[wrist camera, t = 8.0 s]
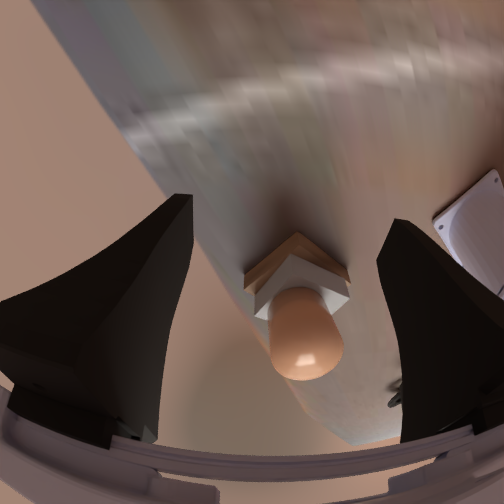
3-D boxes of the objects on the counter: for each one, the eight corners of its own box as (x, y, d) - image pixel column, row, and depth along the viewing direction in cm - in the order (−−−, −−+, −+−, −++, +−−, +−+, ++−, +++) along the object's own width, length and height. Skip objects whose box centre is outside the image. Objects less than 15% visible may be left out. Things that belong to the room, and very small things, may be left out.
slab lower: (346, 266, 26) (351, 284, 24) (295, 302, 29) (296, 319, 28) (296, 227, 24) (299, 244, 22) (244, 271, 27) (243, 289, 25)
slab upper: (344, 278, 24) (350, 298, 22) (306, 315, 27) (308, 334, 25) (290, 253, 22) (293, 273, 21) (254, 295, 26) (254, 316, 24)
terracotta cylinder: (330, 330, 23) (346, 369, 18) (275, 344, 23) (279, 386, 18) (321, 279, 21) (338, 313, 17) (260, 296, 22) (262, 333, 17)
